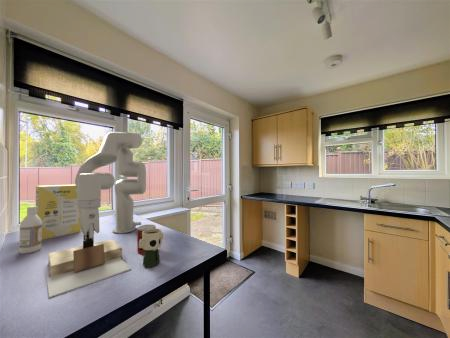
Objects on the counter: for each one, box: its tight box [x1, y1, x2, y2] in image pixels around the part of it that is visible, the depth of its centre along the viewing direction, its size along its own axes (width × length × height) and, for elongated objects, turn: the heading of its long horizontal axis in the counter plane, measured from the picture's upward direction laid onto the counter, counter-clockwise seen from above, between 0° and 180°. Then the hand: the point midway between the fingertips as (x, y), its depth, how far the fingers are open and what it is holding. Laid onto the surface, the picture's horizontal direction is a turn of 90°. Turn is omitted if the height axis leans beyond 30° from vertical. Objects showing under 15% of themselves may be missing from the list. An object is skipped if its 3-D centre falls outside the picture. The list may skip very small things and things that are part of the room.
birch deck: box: [48, 238, 123, 277], centre depth 76 cm, size 22×14×4 cm, turn 136°
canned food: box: [136, 224, 157, 255], centre depth 85 cm, size 8×8×11 cm
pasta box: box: [35, 183, 82, 240], centre depth 108 cm, size 18×10×28 cm, turn 142°
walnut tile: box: [73, 244, 105, 272], centre depth 69 cm, size 9×7×2 cm
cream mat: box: [46, 257, 132, 299], centre depth 65 cm, size 22×13×1 cm, turn 136°
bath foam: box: [18, 205, 43, 255], centre depth 84 cm, size 7×7×20 cm
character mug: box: [139, 228, 164, 268], centre depth 73 cm, size 11×7×13 cm, turn 149°
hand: (88, 250), depth 74 cm, fingers closed
